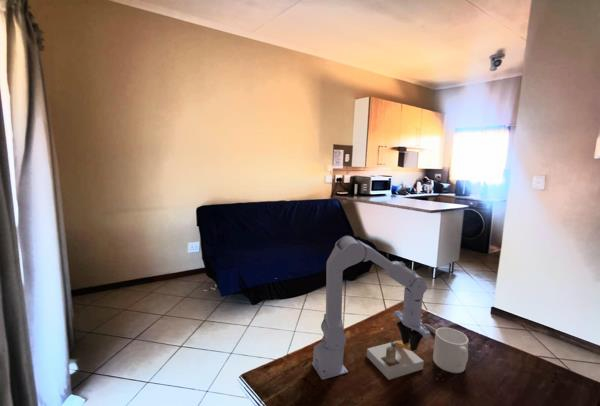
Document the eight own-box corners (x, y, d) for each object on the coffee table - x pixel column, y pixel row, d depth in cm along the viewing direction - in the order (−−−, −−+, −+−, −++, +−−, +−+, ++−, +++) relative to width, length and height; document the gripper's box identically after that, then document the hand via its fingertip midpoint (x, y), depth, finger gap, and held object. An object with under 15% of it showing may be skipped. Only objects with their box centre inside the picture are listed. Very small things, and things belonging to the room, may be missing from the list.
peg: (396, 370, 97) (397, 351, 96) (388, 372, 96) (390, 353, 95) (390, 364, 100) (391, 345, 99) (383, 366, 99) (384, 347, 98)
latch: (411, 351, 98) (410, 347, 99) (395, 345, 106) (394, 342, 106) (415, 349, 99) (415, 345, 99) (399, 344, 106) (399, 340, 107)
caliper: (458, 356, 106) (460, 339, 105) (455, 356, 106) (457, 340, 105) (425, 325, 126) (426, 311, 125) (422, 325, 126) (423, 311, 125)
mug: (427, 354, 106) (429, 328, 105) (452, 353, 107) (455, 326, 106) (449, 380, 94) (452, 350, 92) (477, 378, 95) (481, 348, 94)
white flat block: (388, 379, 93) (389, 367, 93) (366, 356, 104) (367, 345, 104) (422, 369, 98) (423, 357, 98) (398, 347, 109) (399, 337, 109)
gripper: (438, 317, 94) (435, 356, 95) (406, 297, 107) (404, 332, 109) (421, 321, 91) (418, 361, 93) (390, 300, 104) (388, 336, 106)
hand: (409, 346), depth 101 cm, fingers open, 3 cm apart
